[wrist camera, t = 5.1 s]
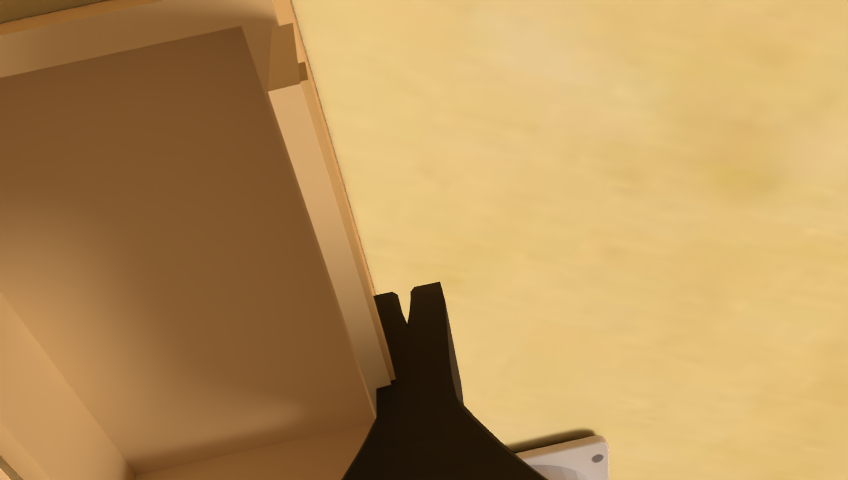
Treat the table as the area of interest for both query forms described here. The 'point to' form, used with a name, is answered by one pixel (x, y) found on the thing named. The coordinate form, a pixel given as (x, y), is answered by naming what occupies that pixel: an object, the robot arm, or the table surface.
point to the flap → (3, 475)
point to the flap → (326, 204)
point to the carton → (163, 255)
